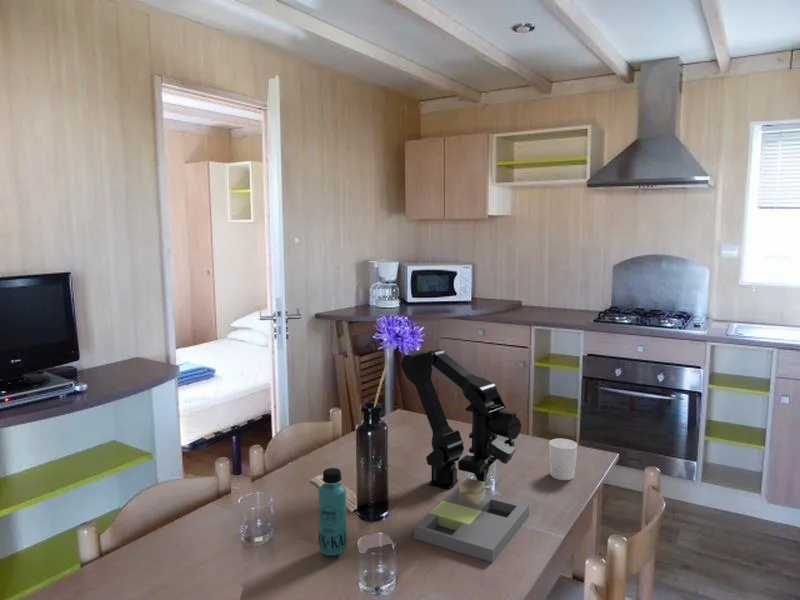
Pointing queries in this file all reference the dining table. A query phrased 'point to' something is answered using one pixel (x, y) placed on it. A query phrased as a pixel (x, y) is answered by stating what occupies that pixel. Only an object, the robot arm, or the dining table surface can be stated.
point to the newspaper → (350, 496)
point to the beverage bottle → (332, 513)
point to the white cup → (562, 458)
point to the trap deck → (472, 525)
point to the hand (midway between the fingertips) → (482, 485)
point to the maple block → (472, 491)
